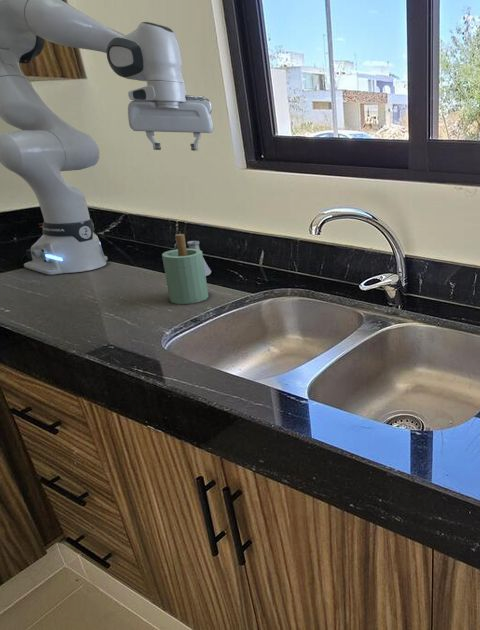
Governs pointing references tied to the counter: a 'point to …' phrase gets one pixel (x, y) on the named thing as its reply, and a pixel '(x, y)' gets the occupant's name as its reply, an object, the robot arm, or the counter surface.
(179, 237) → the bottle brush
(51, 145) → the robot arm
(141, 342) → the counter surface
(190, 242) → the flask
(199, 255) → the jar
